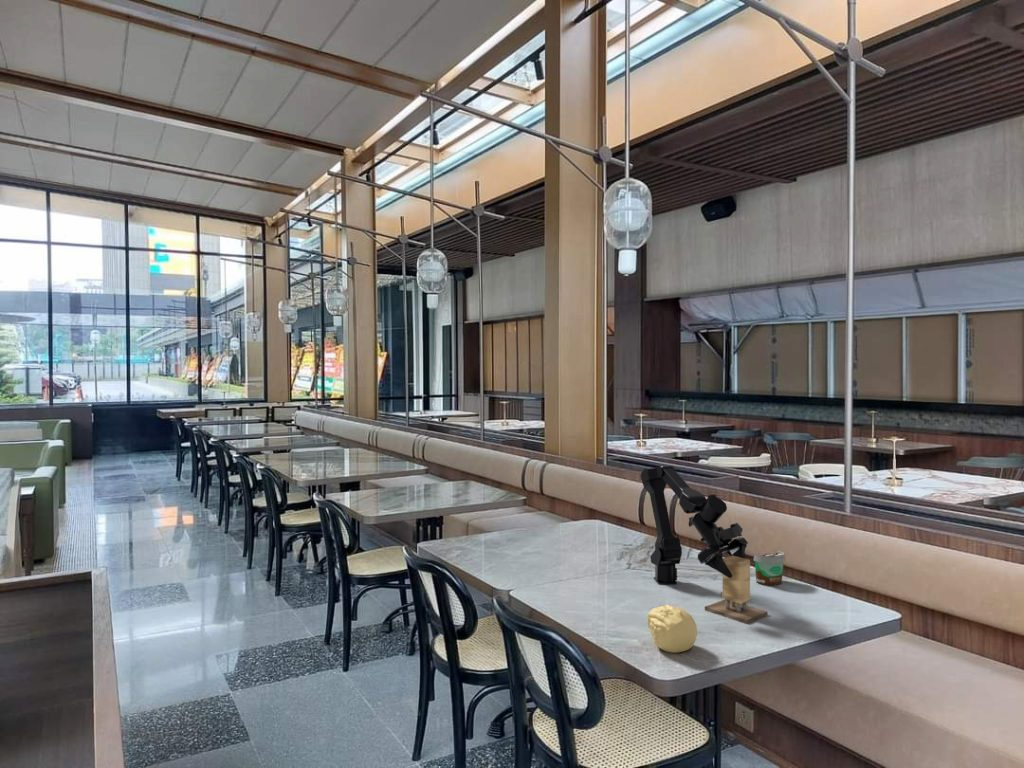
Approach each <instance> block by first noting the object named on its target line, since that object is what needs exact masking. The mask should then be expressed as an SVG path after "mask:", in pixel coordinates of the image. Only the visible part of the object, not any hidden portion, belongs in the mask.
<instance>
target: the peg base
mask: <svg viewBox="0 0 1024 768" xmlns="http://www.w3.org/2000/svg"><path fill="white" fill-rule="evenodd" d="M704 611H707V612H710V613H713V614H716V615H719V616H721V615H722V617H724V618H727V617H728V619H732V620H734V621H736V622H740V623H742V624H746V625H747V624H750V623H752V622H754V621H758V620H759V619H762V618H764V617H766V615H767V616H768V614H769V613H768V611H766V610H764V609H761V608H758V607H757V608H756V607H755V606H751V605H747V601H746V602H744V603H741V604H740V603H736V602H733V601H730V600H727V599H722V600H719V601H717V602H714V603H711V604H709V605H706V606H704Z"/></svg>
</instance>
